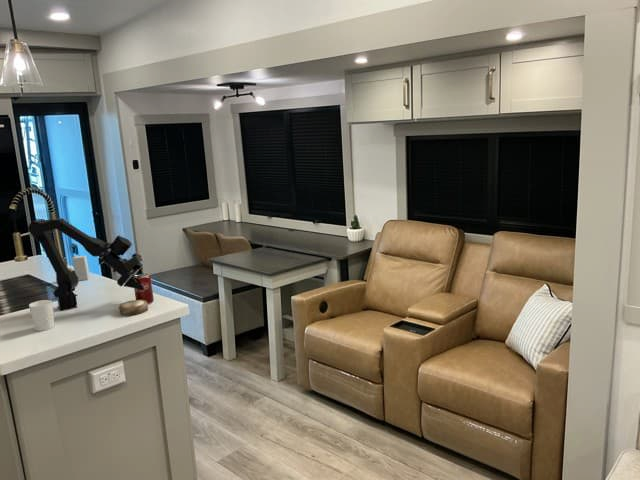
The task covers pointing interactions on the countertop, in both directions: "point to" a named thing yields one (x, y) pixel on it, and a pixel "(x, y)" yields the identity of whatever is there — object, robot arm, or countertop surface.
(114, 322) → the countertop surface
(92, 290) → the countertop surface
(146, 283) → the soda can
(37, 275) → the countertop surface
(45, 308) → the white cup
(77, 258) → the skincare box
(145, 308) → the pedestal
